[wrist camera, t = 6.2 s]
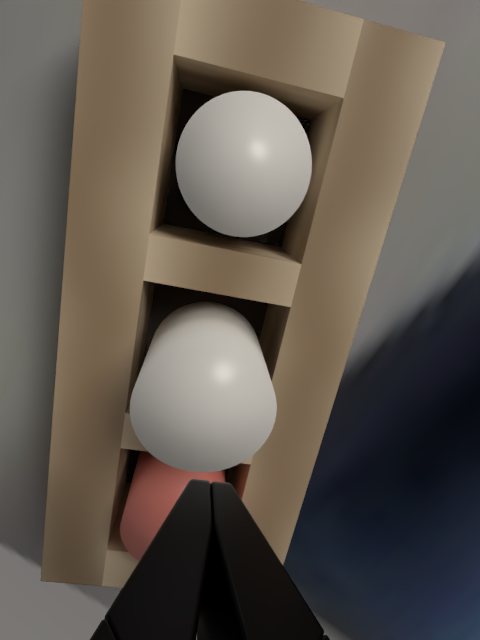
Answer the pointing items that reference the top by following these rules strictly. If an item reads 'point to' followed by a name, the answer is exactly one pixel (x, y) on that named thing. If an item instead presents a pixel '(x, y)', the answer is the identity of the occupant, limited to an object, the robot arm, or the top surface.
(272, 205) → the plug
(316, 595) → the top surface
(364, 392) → the top surface
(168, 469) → the red plug
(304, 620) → the robot arm
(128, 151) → the beech block
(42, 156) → the top surface
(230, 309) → the plug
